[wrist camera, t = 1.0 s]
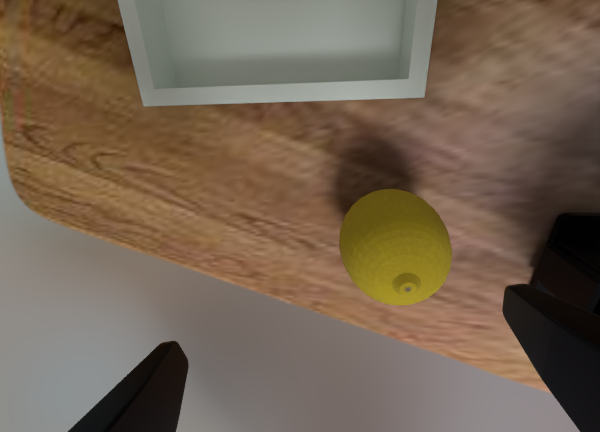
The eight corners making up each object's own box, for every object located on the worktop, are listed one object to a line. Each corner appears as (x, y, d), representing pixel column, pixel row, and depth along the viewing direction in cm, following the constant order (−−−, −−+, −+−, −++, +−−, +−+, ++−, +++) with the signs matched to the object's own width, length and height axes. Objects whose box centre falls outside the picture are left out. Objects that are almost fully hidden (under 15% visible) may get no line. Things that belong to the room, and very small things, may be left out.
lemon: (412, 160, 17) (470, 213, 10) (430, 236, 19) (489, 326, 12) (327, 188, 19) (323, 252, 11) (351, 256, 21) (362, 348, 13)
